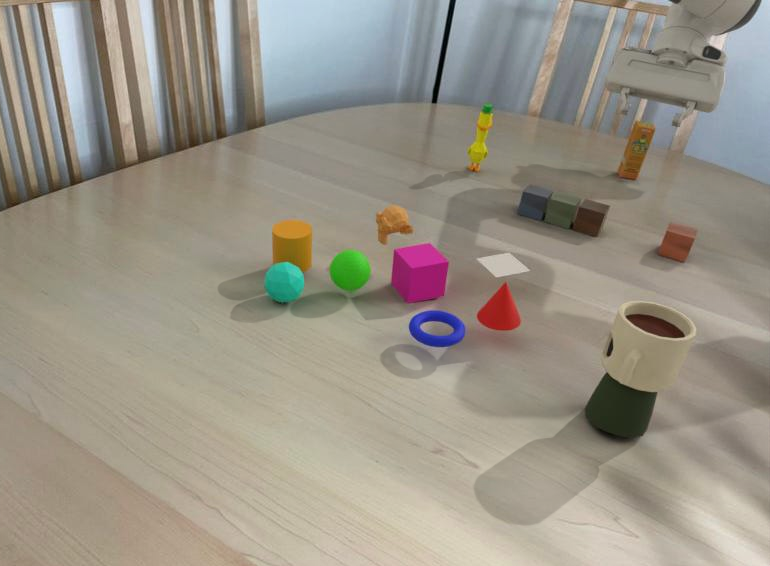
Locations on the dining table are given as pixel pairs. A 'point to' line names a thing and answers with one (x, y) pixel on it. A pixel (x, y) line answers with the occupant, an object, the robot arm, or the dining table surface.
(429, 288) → the shape set
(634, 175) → the supplement box
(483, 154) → the toy figure
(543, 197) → the block row
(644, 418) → the character mug
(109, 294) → the dining table surface
